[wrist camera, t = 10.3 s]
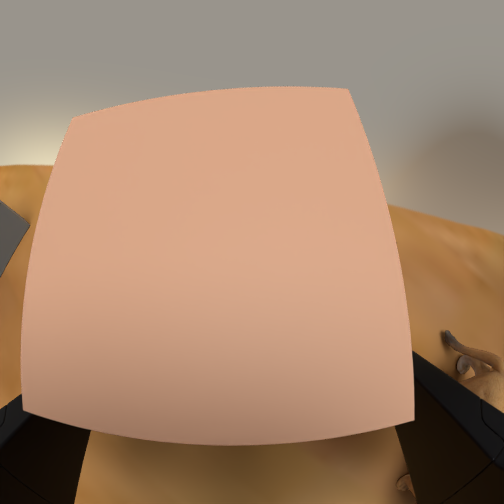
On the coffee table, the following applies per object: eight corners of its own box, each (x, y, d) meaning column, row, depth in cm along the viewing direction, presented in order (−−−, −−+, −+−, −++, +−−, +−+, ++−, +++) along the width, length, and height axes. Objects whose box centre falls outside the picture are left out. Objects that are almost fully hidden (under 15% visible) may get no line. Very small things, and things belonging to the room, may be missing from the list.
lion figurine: (442, 510, 11) (510, 551, 3) (381, 527, 12) (436, 590, 3) (467, 329, 16) (559, 301, 8) (408, 333, 17) (501, 306, 8)
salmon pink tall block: (292, 372, 16) (414, 420, 3) (203, 375, 16) (23, 410, 3) (286, 282, 18) (344, 80, 4) (202, 286, 18) (76, 108, 4)
